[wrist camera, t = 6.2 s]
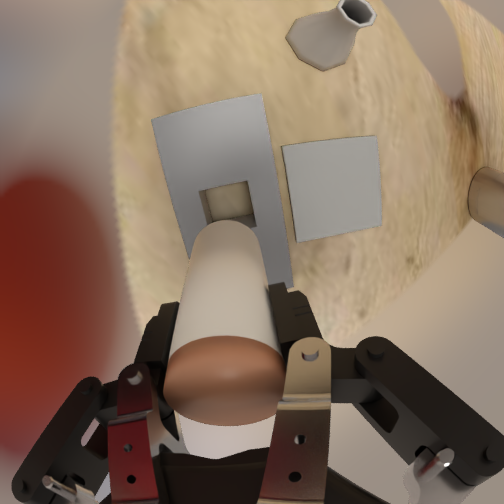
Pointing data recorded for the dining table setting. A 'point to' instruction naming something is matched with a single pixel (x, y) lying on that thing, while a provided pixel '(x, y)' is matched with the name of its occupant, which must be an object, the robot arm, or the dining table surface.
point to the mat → (333, 186)
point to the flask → (330, 33)
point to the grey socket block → (225, 172)
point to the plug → (225, 333)
